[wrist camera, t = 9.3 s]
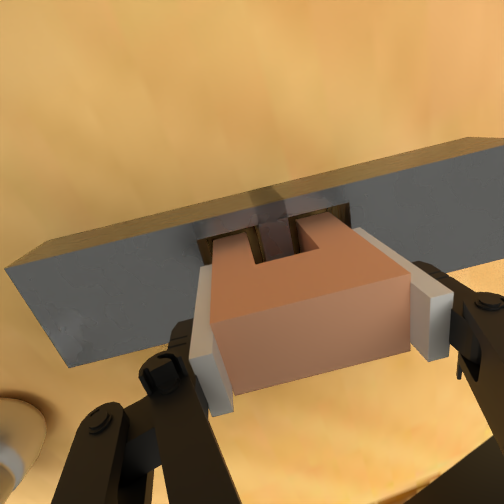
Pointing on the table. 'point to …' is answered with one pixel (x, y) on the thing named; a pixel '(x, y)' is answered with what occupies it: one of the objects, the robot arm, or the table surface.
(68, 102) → the table surface
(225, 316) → the clip
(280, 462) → the table surface
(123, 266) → the rail
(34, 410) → the plastic bottle
